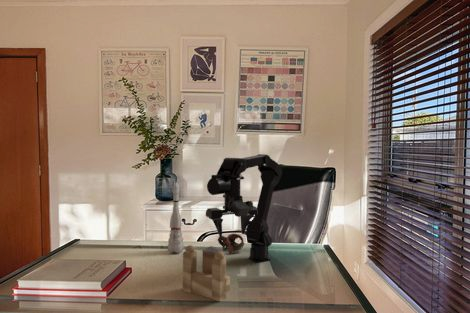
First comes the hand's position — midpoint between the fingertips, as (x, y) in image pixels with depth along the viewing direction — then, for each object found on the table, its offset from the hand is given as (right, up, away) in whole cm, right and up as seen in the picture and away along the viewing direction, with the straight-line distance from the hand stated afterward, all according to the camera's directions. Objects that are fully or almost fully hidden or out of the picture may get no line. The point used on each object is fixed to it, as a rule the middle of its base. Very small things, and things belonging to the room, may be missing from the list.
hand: (232, 235), depth 118 cm
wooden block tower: (-7, -13, -17) cm, 22 cm away
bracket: (-6, -13, -15) cm, 21 cm away
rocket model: (-24, -13, +21) cm, 35 cm away
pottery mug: (-1, -13, +25) cm, 28 cm away
